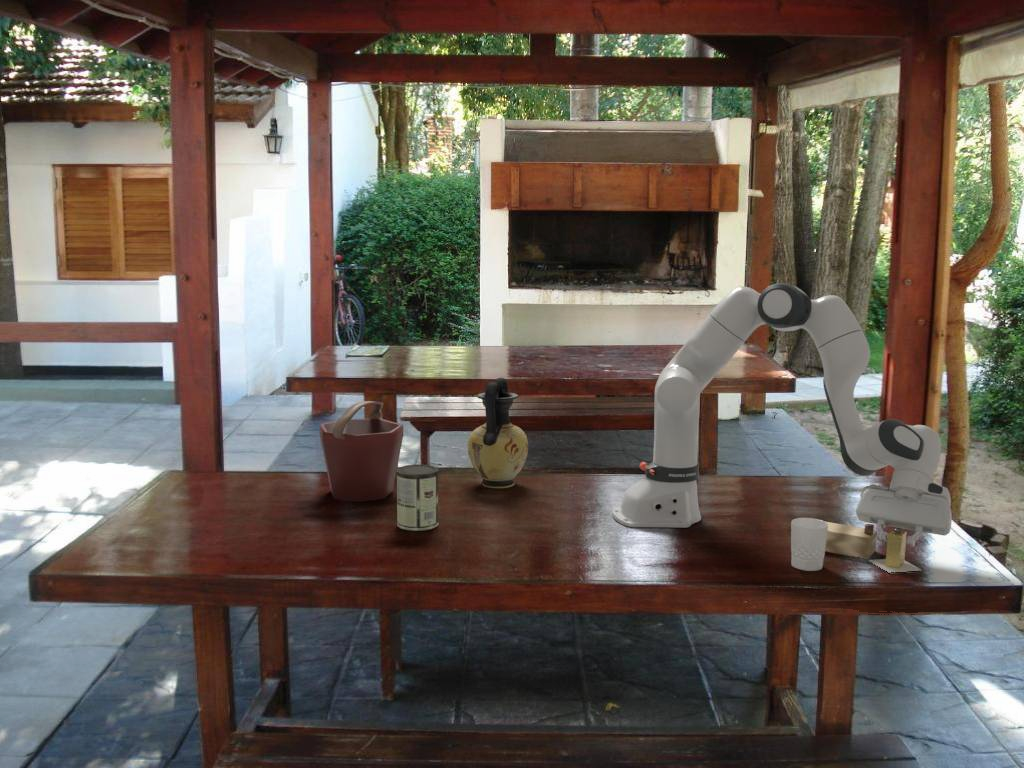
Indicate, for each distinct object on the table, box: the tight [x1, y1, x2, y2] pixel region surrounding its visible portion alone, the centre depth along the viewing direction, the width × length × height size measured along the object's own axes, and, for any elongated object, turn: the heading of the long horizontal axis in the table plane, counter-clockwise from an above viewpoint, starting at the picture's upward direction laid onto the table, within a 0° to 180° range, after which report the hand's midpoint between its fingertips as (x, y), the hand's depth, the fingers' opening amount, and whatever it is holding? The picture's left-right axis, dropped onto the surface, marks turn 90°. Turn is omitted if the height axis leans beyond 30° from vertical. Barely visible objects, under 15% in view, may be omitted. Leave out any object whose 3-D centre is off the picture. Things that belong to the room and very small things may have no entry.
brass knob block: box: [885, 527, 908, 569], centre depth 239 cm, size 3×4×8 cm, turn 147°
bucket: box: [319, 400, 404, 503], centre depth 290 cm, size 24×22×25 cm
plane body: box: [825, 521, 878, 560], centre depth 250 cm, size 14×7×7 cm, turn 57°
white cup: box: [790, 517, 828, 572], centre depth 238 cm, size 8×8×10 cm
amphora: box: [467, 377, 529, 489], centre depth 301 cm, size 18×17×30 cm
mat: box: [868, 558, 922, 574], centre depth 239 cm, size 8×8×1 cm
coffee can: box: [396, 464, 439, 532], centre depth 264 cm, size 10×10×14 cm
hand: (896, 542), depth 238 cm, fingers open, 5 cm apart
